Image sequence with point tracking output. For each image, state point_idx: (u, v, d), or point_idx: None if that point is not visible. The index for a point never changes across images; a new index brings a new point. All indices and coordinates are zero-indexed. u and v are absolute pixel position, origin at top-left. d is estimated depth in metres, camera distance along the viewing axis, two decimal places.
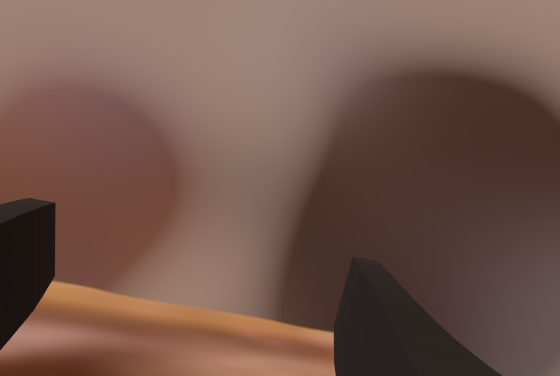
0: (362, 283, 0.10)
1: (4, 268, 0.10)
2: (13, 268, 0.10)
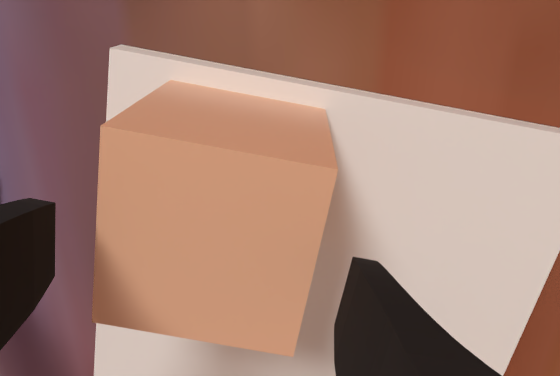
0: (362, 283, 0.10)
1: (3, 268, 0.10)
2: (13, 268, 0.10)
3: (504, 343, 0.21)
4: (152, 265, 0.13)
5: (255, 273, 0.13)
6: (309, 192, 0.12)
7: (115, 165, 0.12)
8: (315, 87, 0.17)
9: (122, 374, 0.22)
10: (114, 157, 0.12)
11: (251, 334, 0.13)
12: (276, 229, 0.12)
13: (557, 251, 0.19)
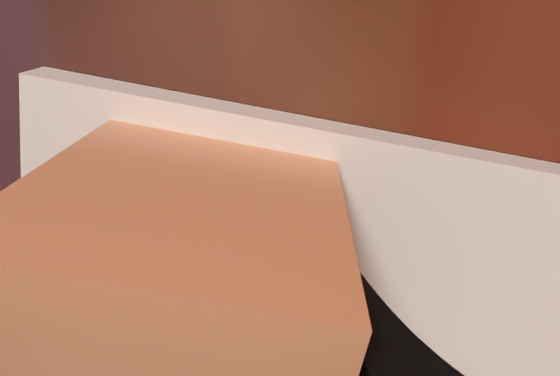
0: None
1: None
2: None
3: None
4: None
5: None
6: (316, 367, 0.06)
7: None
8: (322, 131, 0.12)
9: None
10: None
11: None
12: None
13: None
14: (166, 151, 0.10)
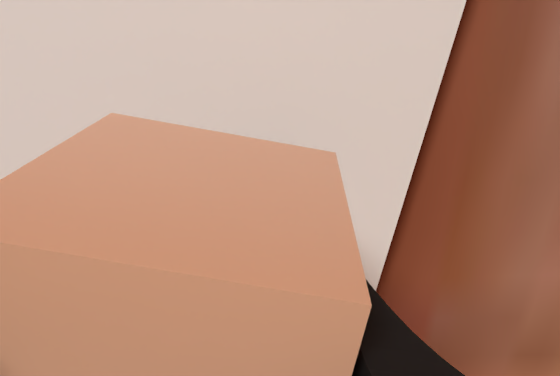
0: None
1: None
2: None
3: (396, 180, 0.20)
4: None
5: None
6: (317, 342, 0.06)
7: None
8: None
9: None
10: None
11: None
12: None
13: (443, 67, 0.18)
14: (167, 142, 0.11)
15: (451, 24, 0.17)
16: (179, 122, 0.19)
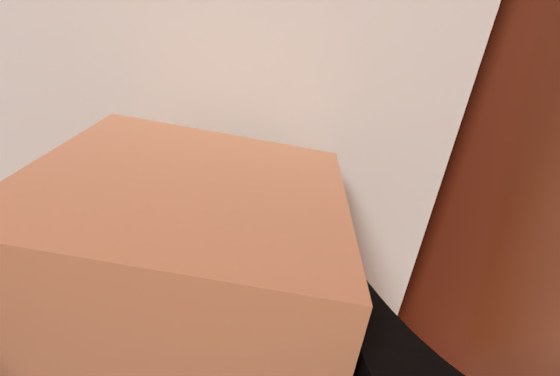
0: None
1: None
2: None
3: (412, 211, 0.14)
4: None
5: None
6: (317, 344, 0.06)
7: None
8: None
9: None
10: None
11: None
12: None
13: (482, 48, 0.12)
14: (168, 142, 0.11)
15: None
16: None
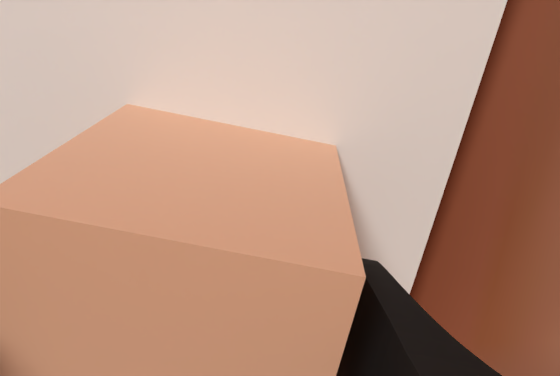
0: None
1: None
2: None
3: (415, 216, 0.14)
4: None
5: None
6: (318, 310, 0.07)
7: (1, 263, 0.07)
8: None
9: None
10: None
11: None
12: (264, 362, 0.08)
13: (488, 50, 0.12)
14: (180, 132, 0.11)
15: None
16: None
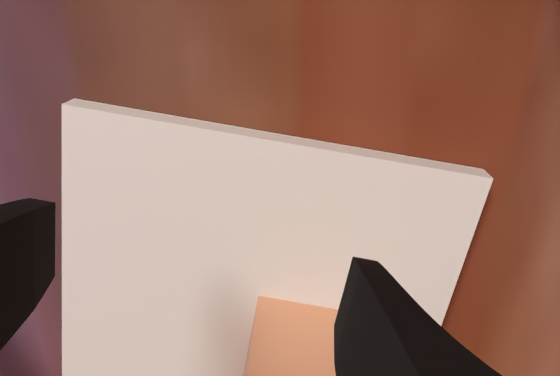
0: (362, 283, 0.10)
1: (3, 268, 0.10)
2: (13, 268, 0.10)
3: None
4: None
5: None
6: None
7: None
8: (238, 135, 0.20)
9: None
10: None
11: None
12: None
13: (459, 271, 0.22)
14: (295, 322, 0.22)
15: (465, 241, 0.21)
16: (240, 310, 0.23)
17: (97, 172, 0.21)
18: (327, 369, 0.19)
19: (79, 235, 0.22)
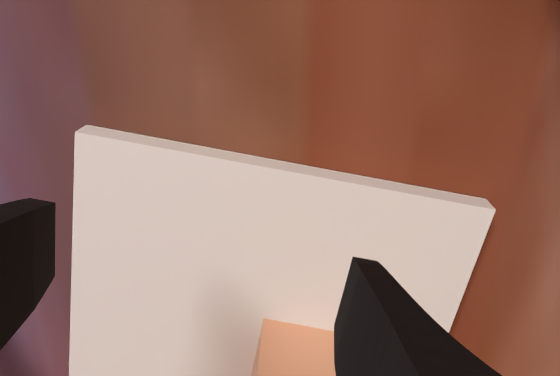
0: (362, 283, 0.10)
1: (4, 268, 0.10)
2: (13, 268, 0.10)
3: None
4: None
5: None
6: None
7: None
8: (248, 164, 0.21)
9: None
10: None
11: None
12: None
13: (460, 297, 0.22)
14: (300, 346, 0.22)
15: (467, 269, 0.22)
16: (245, 331, 0.24)
17: (108, 197, 0.21)
18: None
19: (89, 257, 0.22)
